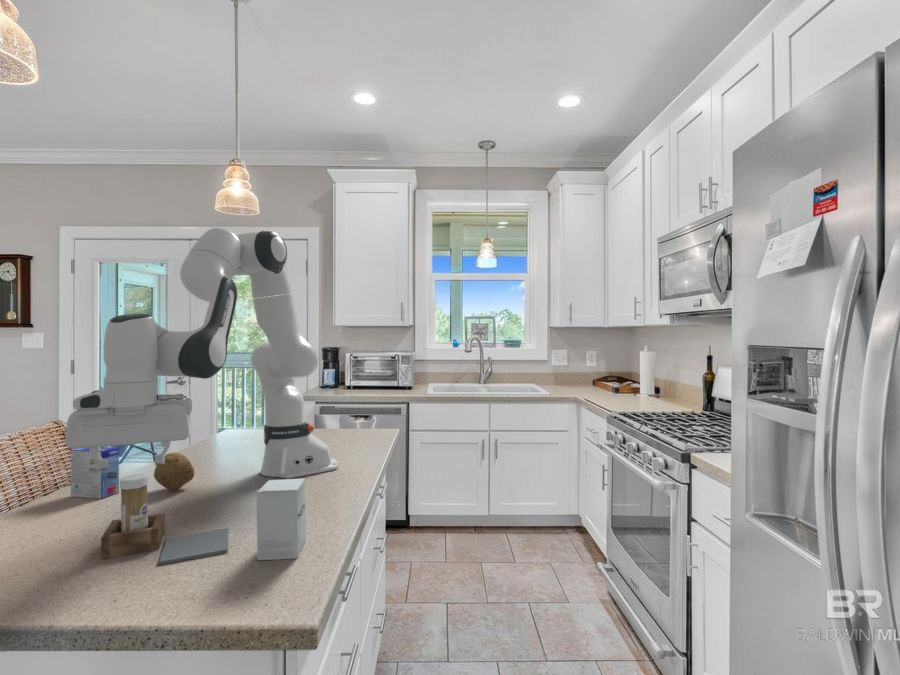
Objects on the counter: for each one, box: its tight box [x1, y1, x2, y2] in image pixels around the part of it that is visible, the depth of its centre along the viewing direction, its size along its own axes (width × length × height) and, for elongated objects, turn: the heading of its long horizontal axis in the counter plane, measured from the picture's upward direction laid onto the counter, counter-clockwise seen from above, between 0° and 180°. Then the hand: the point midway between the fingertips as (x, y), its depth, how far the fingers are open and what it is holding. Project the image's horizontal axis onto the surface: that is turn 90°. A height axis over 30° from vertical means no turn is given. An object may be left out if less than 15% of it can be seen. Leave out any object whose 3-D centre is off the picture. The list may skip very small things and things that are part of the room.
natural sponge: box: [153, 452, 195, 492], centre depth 125 cm, size 9×9×10 cm
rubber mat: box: [158, 527, 229, 566], centre depth 91 cm, size 11×11×1 cm
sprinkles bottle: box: [119, 473, 149, 532], centre depth 92 cm, size 5×5×14 cm
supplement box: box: [256, 478, 307, 561], centre depth 89 cm, size 7×7×13 cm
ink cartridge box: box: [70, 446, 120, 499], centre depth 122 cm, size 10×6×14 cm, turn 78°
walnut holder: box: [100, 512, 166, 560], centre depth 92 cm, size 9×9×4 cm
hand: (131, 466), depth 92 cm, fingers open, 8 cm apart
